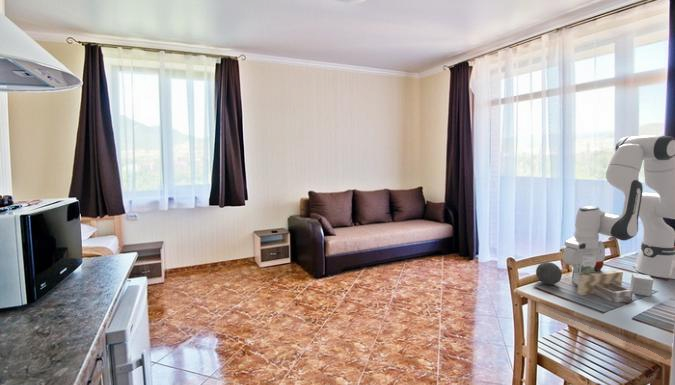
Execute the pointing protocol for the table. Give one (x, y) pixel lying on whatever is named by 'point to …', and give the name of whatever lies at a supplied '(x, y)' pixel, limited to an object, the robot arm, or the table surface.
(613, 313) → the table surface
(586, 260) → the syrup box
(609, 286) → the wooden table
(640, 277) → the product box
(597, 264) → the fruit
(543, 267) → the decorative ball
